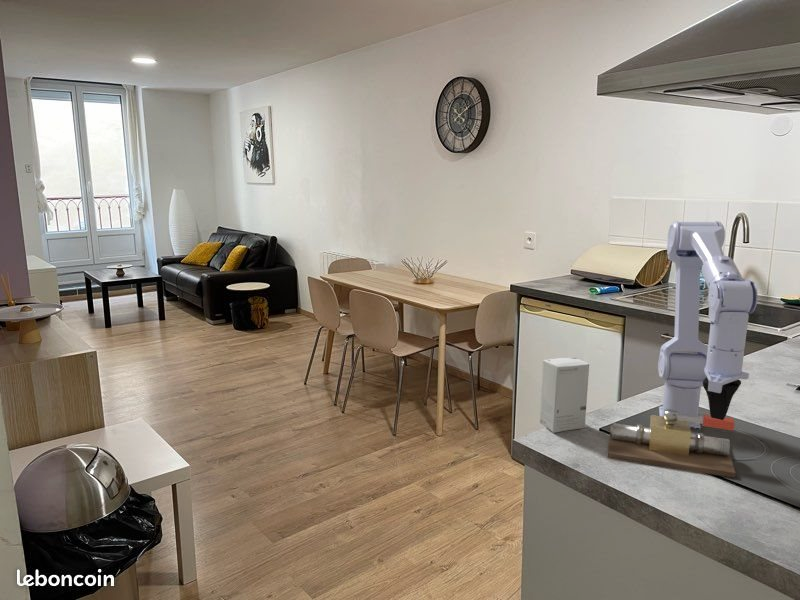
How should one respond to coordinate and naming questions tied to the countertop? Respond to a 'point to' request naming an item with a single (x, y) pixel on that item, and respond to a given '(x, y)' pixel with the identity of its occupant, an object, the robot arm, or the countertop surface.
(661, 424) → the valve housing
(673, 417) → the valve lever
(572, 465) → the countertop surface
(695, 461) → the base board
